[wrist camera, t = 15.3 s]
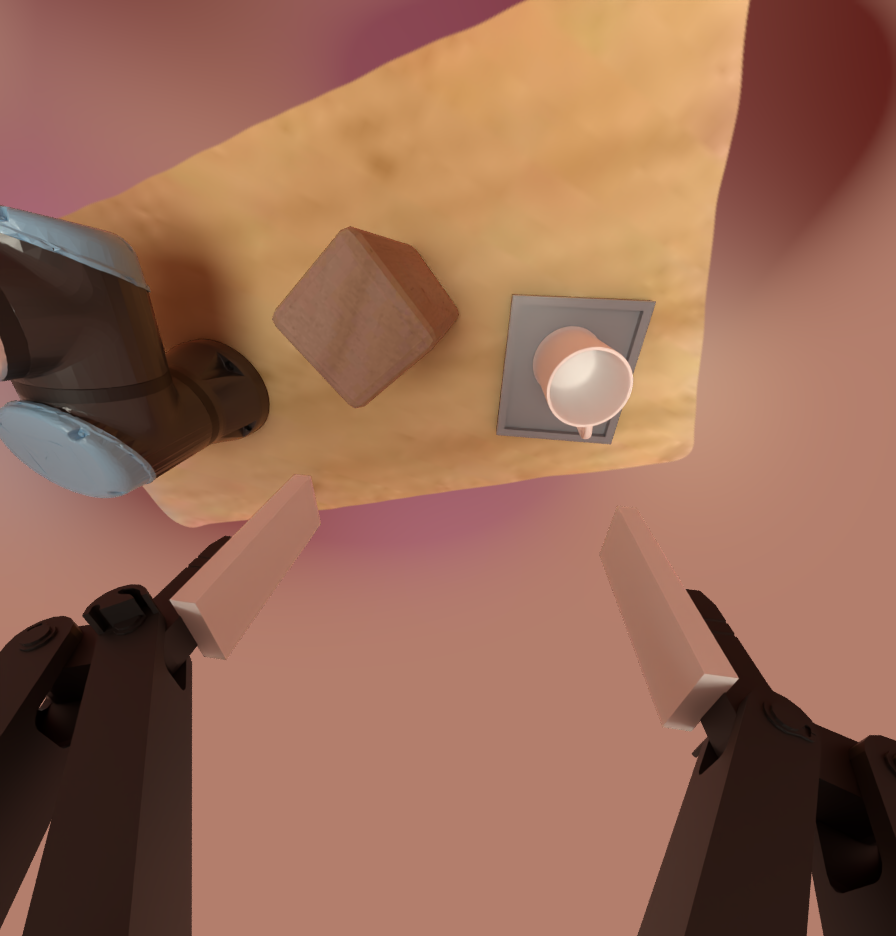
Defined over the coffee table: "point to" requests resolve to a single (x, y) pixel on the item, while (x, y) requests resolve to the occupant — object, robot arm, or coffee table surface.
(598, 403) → the mug
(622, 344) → the tray
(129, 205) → the coffee table surface
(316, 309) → the wooden block
